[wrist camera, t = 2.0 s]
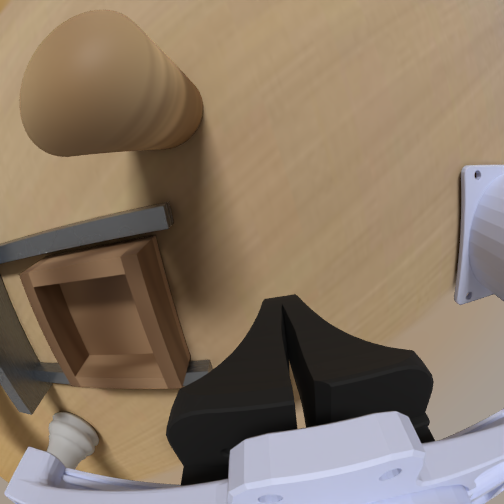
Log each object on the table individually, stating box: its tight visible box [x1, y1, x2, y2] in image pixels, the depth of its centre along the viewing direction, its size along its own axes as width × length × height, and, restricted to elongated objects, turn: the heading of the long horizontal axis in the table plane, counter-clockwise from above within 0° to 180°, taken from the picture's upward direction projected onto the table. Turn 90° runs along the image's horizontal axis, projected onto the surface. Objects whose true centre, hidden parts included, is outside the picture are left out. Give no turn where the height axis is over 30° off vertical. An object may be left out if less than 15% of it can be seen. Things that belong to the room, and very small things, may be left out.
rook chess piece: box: [47, 412, 99, 469], centre depth 15 cm, size 4×4×8 cm
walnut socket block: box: [19, 235, 190, 389], centre depth 14 cm, size 7×7×3 cm
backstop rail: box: [0, 202, 213, 415], centre depth 14 cm, size 14×12×4 cm
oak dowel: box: [20, 10, 203, 157], centre depth 8 cm, size 4×4×8 cm
